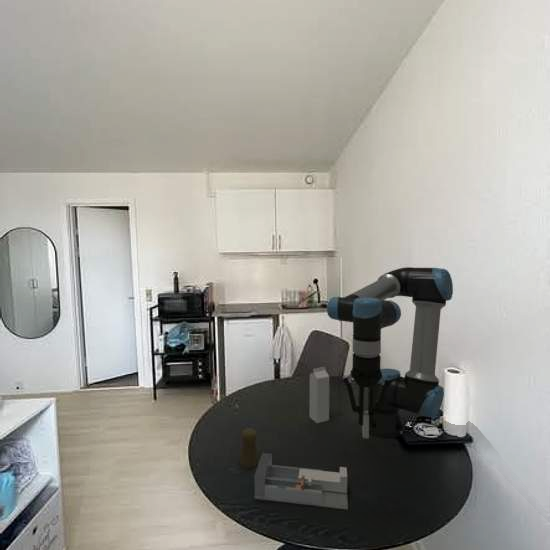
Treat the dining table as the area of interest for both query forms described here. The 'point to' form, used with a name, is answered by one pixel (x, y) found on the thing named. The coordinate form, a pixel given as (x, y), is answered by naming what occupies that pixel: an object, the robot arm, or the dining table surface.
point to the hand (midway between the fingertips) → (365, 435)
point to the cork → (249, 449)
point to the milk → (319, 395)
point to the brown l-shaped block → (301, 483)
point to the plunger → (327, 479)
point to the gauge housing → (292, 486)
